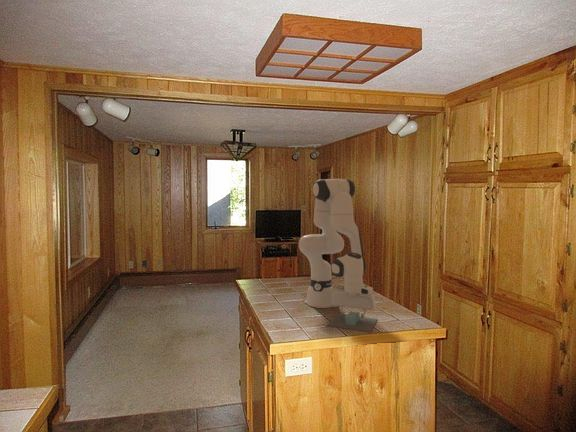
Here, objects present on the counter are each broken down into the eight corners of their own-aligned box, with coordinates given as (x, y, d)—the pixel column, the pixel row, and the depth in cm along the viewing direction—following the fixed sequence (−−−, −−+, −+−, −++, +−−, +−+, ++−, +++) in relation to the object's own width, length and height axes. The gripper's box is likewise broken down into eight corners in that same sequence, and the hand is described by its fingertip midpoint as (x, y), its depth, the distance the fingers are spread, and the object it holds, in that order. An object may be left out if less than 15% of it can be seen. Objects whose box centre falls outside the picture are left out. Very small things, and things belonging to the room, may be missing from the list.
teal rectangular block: (345, 324, 178) (345, 316, 178) (350, 318, 186) (350, 311, 186) (354, 325, 176) (355, 318, 176) (359, 319, 185) (359, 312, 184)
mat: (336, 314, 193) (336, 313, 193) (377, 320, 186) (377, 319, 186) (326, 325, 177) (326, 324, 177) (370, 332, 169) (370, 331, 169)
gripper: (330, 286, 181) (329, 315, 182) (373, 291, 174) (373, 321, 175) (333, 283, 187) (333, 311, 188) (376, 288, 180) (375, 317, 180)
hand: (352, 316), depth 181 cm, fingers open, 8 cm apart
